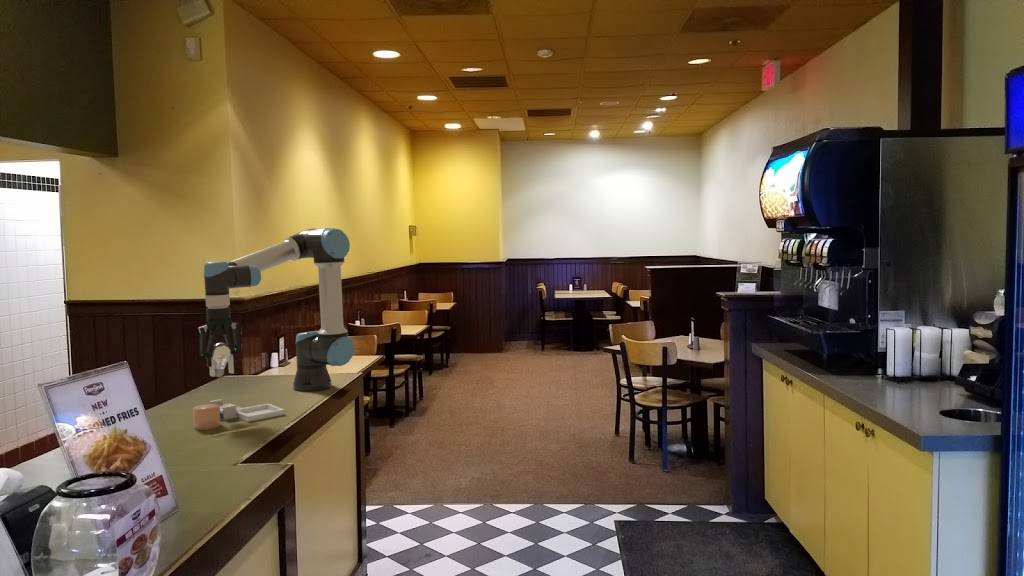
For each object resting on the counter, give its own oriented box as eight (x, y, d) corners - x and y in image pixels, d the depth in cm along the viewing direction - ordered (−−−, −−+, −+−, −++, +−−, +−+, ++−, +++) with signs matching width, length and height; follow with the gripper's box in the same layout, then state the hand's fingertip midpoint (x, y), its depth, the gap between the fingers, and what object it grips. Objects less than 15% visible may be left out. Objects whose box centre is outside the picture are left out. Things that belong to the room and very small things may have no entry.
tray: (268, 410, 252) (268, 403, 252) (285, 416, 243) (284, 409, 243) (232, 417, 244) (231, 409, 243) (248, 424, 234) (247, 416, 234)
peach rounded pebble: (215, 423, 235) (214, 403, 235) (224, 428, 229) (223, 407, 229) (190, 428, 230) (189, 407, 229) (199, 433, 224) (198, 411, 223)
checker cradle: (229, 411, 251) (228, 397, 251) (245, 418, 241) (245, 404, 241) (200, 416, 245) (199, 402, 244) (216, 424, 234) (215, 409, 234)
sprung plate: (230, 406, 249) (230, 403, 249) (241, 410, 243) (241, 407, 242) (204, 410, 243) (204, 407, 243) (214, 415, 236) (214, 412, 236)
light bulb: (221, 380, 238) (224, 345, 237) (202, 377, 239) (206, 342, 238) (233, 377, 245) (236, 343, 244) (215, 373, 246) (218, 339, 245)
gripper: (240, 303, 249) (244, 368, 251) (185, 309, 236) (189, 377, 238) (249, 305, 244) (253, 371, 246) (193, 310, 231) (197, 380, 233)
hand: (222, 374), depth 242 cm, fingers closed on light bulb, 6 cm apart
